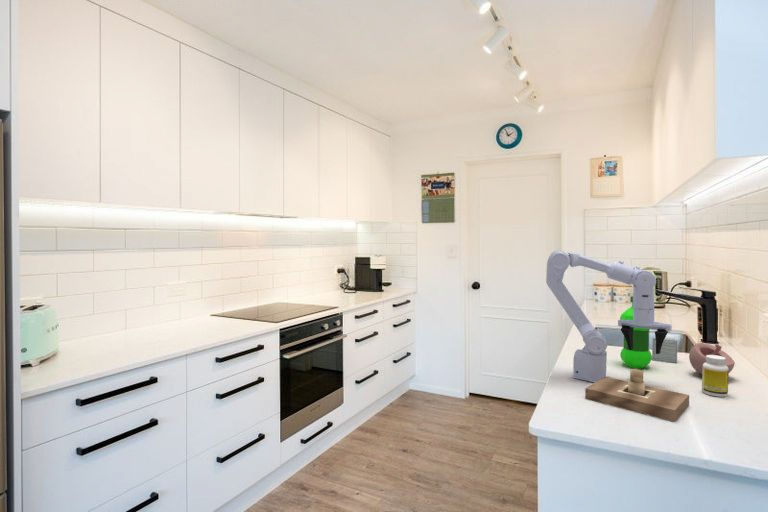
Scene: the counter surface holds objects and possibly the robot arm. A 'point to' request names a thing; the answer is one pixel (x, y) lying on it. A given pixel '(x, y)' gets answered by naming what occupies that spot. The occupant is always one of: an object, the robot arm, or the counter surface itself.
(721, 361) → the pill bottle
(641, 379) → the beech peg
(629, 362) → the plastic bottle
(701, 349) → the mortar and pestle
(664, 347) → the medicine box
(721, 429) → the counter surface
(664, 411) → the socket board
